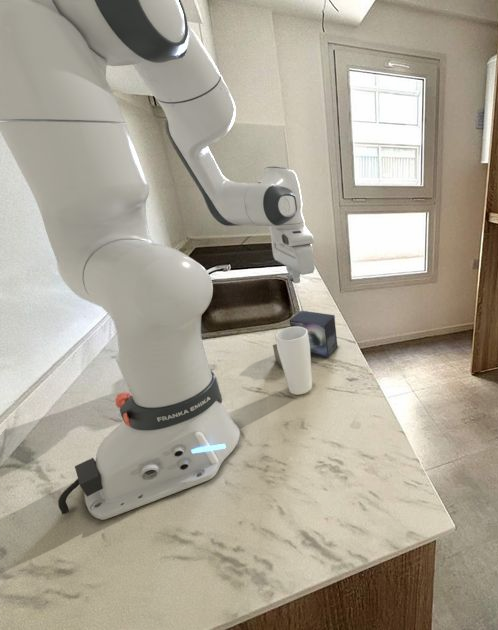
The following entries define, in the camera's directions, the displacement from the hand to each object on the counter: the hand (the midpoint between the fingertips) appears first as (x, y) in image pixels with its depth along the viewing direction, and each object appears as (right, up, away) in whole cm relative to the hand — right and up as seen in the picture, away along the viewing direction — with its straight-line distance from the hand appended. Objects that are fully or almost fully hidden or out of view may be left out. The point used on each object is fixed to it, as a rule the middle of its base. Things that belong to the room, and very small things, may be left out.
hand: (295, 281), depth 94 cm
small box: (+6, -20, -1) cm, 21 cm away
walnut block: (+1, -22, -6) cm, 23 cm away
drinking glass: (+8, -27, -16) cm, 33 cm away
